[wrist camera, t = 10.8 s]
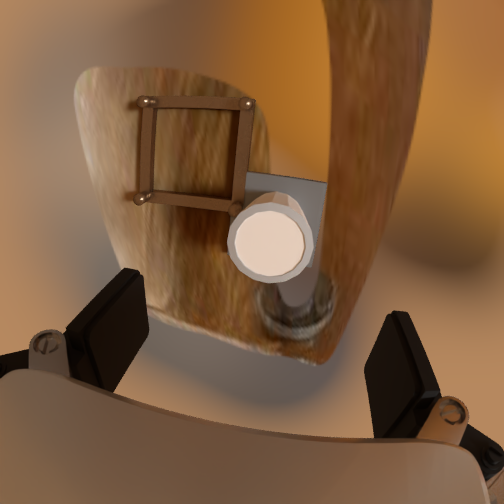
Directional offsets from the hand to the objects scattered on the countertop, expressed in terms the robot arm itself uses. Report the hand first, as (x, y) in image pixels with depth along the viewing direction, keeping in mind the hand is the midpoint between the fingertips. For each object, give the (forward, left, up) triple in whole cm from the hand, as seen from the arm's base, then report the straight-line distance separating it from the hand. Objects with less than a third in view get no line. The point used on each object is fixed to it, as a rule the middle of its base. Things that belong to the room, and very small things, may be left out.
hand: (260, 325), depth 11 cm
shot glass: (+2, 0, -20) cm, 20 cm away
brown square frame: (-4, -9, -21) cm, 23 cm away
